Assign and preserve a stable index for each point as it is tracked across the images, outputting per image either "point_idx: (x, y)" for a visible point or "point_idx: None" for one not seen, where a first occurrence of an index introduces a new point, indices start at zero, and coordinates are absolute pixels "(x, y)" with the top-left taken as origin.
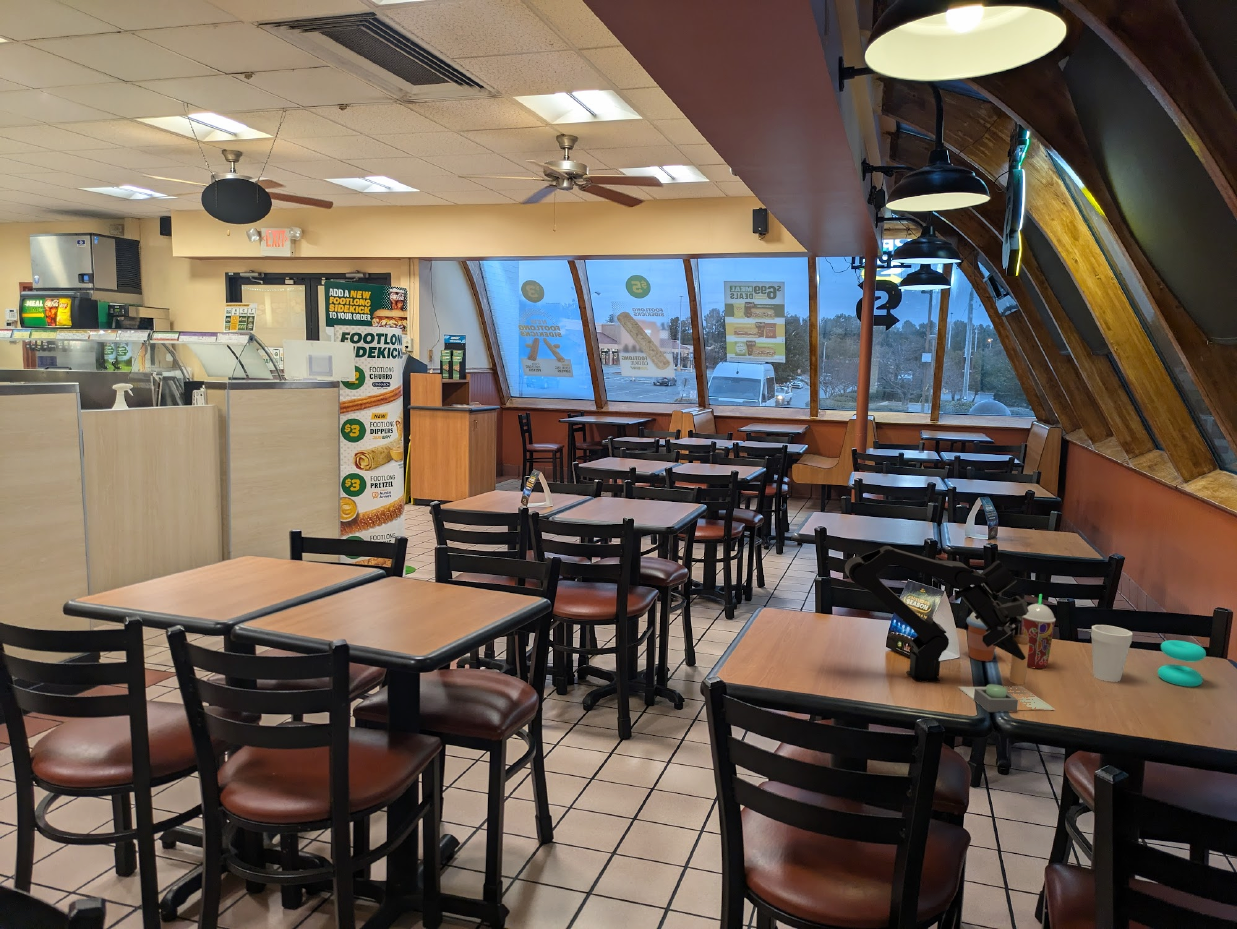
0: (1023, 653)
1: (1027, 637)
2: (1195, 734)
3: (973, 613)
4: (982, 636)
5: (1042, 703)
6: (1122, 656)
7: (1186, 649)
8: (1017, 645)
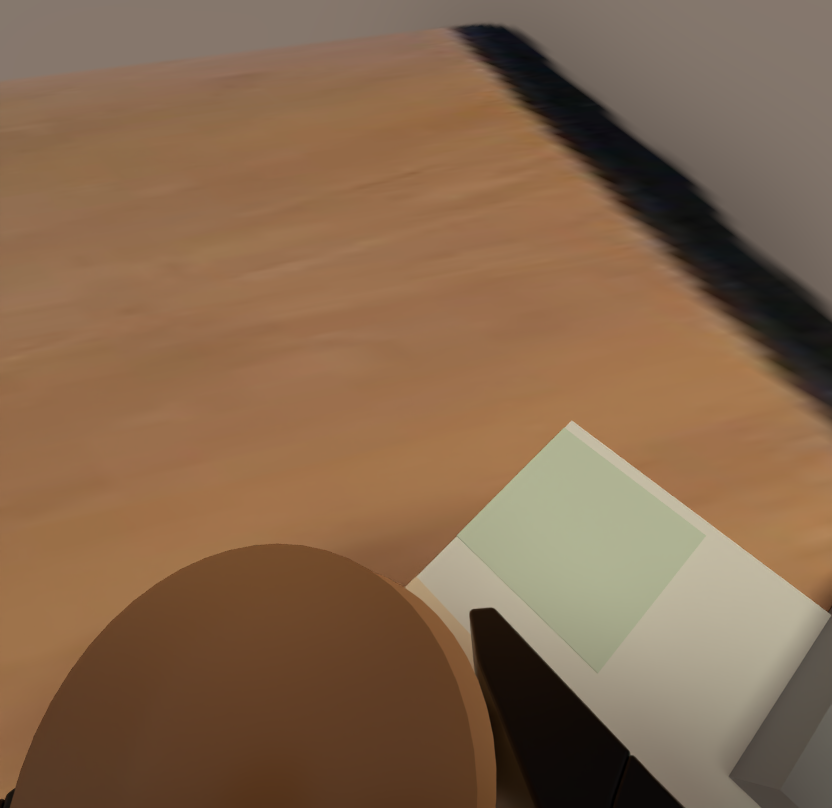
0: (484, 644)
1: (204, 596)
2: (388, 76)
3: None
4: None
5: (540, 496)
6: None
7: None
8: (628, 779)
